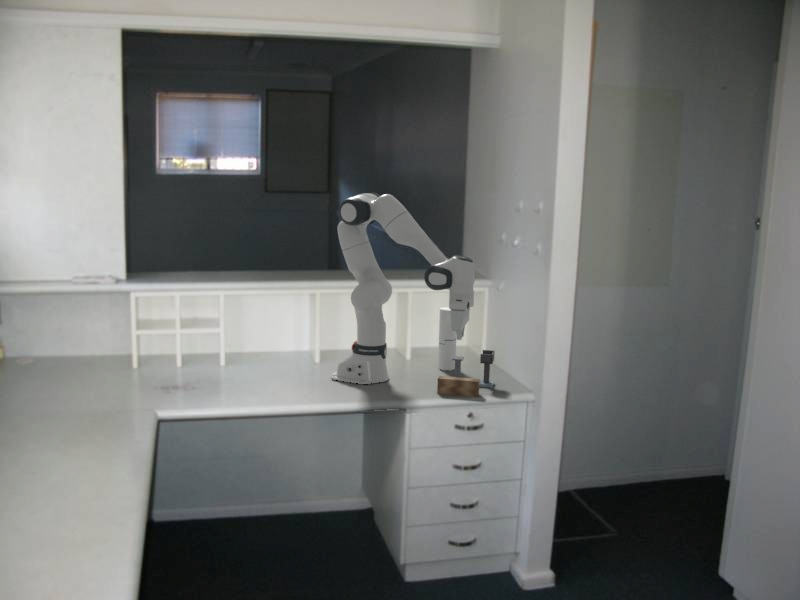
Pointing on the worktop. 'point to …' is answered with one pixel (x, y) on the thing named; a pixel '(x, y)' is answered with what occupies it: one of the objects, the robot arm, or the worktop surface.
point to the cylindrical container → (446, 341)
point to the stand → (485, 358)
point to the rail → (458, 386)
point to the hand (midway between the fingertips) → (460, 338)
